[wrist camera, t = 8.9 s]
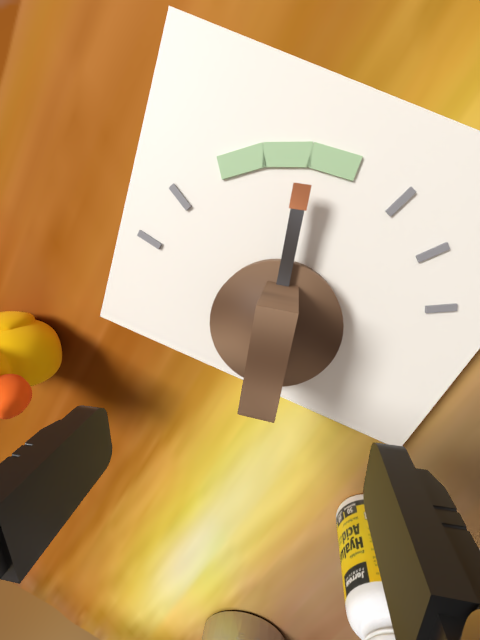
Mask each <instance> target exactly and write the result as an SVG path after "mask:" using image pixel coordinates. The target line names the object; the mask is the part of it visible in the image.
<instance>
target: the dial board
mask: <svg viewBox="0 0 480 640" xmlns="http://www.w3.org/2000/svg"><path fill="white" fill-rule="evenodd" d="M293 182H294V183H301V184H308V185H312V186H311V191H310V196H309V201H308V205H307V210H306V211H304V215H303V220H302V225H301V229H300V234H299V239H298V244H297V249H296V254H295V259H294V261H296V262H299V263H301V264H304V265H306V266H308V267H310V268H311V269H313V270H314V271H316V272H317V273H318V274H320V275H321V276H322V277H323V278H324V279H325V280H326V281H327V283H328V284H329V285H330V287H331V288H332V290H333V292H334V293H335V295H336V297H337V300H338V302H339V305H340V307H341V311H342V315H343V323H344V328H343V337H342V342H341V345H340V347H339V350H338V352H337V354H336V356H335V357H334V359H333V360H332V362H331V363H330V364H329V365H328V366H327V367H326V368H325V369H324V370H323V371H322V372H321V373H319V374H318V375H317V376H315V377H313V378H312V379H310V380H308V381H305V382H303V383H300V384H297V385H292V386H285V387H282V390H281V395H280V397H283V398H285V399H287V400H289V401H292V402H294V403H296V404H298V405H301V406H303V407H305V408H307V409H309V410H312V411H314V412H316V413H318V414H321V415H323V416H325V417H327V418H330V419H332V420H334V421H336V422H339V423H341V424H343V425H345V426H348V427H350V428H352V429H354V430H357V431H359V432H361V433H363V434H366V435H368V436H370V437H372V438H375V439H377V440H379V441H381V442H384V443H386V444H389V445H397V446H403V444H404V443H405V442H406V440H407V439H408V438H409V437H410V435H411V434H412V433H413V432H414V430H415V429H416V428H417V427H418V425H419V424H420V423H421V422H422V420H423V419H424V418H425V417H426V415H427V414H428V413H429V412H430V410H431V409H432V408H433V406H434V405H435V404H436V403H437V401H438V400H439V399H440V398H441V396H442V395H443V394H444V393H445V391H446V390H447V389H448V388H449V386H450V385H451V384H452V383H453V381H454V380H455V379H456V377H457V376H458V375H459V374H460V372H461V371H462V370H463V369H464V367H465V366H466V365H467V364H468V362H469V361H470V360H471V359H472V357H473V356H474V355H475V354H476V352H477V351H478V350H479V349H480V131H479V130H476V129H474V128H471V127H469V126H466V125H464V124H461V123H459V122H457V121H454V120H452V119H449V118H447V117H444V116H442V115H439V114H437V113H434V112H432V111H429V110H427V109H424V108H422V107H419V106H417V105H414V104H412V103H409V102H407V101H404V100H402V99H399V98H397V97H394V96H392V95H389V94H387V93H384V92H382V91H379V90H377V89H375V88H372V87H370V86H367V85H365V84H362V83H360V82H357V81H355V80H352V79H350V78H347V77H345V76H342V75H340V74H337V73H335V72H332V71H330V70H327V69H325V68H322V67H320V66H317V65H315V64H312V63H310V62H307V61H305V60H302V59H300V58H297V57H295V56H293V55H290V54H288V53H285V52H283V51H280V50H278V49H275V48H273V47H270V46H268V45H265V44H263V43H260V42H258V41H255V40H253V39H250V38H248V37H245V36H243V35H240V34H238V33H235V32H233V31H230V30H228V29H225V28H223V27H220V26H218V25H215V24H213V23H211V22H208V21H206V20H203V19H201V18H198V17H196V16H193V15H191V14H188V13H186V12H183V11H181V10H178V9H176V8H173V7H171V6H169V8H168V13H167V17H166V22H165V26H164V31H163V35H162V40H161V44H160V49H159V53H158V58H157V62H156V67H155V71H154V76H153V80H152V85H151V89H150V94H149V98H148V103H147V107H146V112H145V116H144V121H143V125H142V130H141V134H140V139H139V143H138V148H137V152H136V157H135V161H134V166H133V171H132V175H131V180H130V184H129V189H128V193H127V198H126V202H125V207H124V211H123V216H122V220H121V225H120V229H119V234H118V238H117V243H116V247H115V252H114V256H113V261H112V265H111V270H110V274H109V279H108V283H107V288H106V292H105V297H104V301H103V306H102V310H101V315H100V316H101V317H103V318H105V319H107V320H110V321H112V322H114V323H116V324H119V325H121V326H123V327H125V328H128V329H130V330H132V331H134V332H137V333H139V334H141V335H143V336H146V337H148V338H150V339H152V340H155V341H157V342H159V343H161V344H164V345H166V346H168V347H170V348H173V349H175V350H177V351H179V352H182V353H184V354H186V355H188V356H191V357H193V358H195V359H197V360H200V361H202V362H204V363H206V364H208V365H211V366H213V367H215V368H217V369H220V370H222V371H224V372H226V373H229V374H231V375H233V376H235V377H238V378H240V379H242V380H243V379H244V378H243V377H241V376H240V375H238V374H237V373H236V372H234V371H233V370H232V369H231V368H230V367H228V365H227V364H226V363H225V362H224V361H223V360H222V358H221V357H220V355H219V354H218V352H217V350H216V348H215V346H214V343H213V341H212V337H211V332H210V313H211V308H212V305H213V302H214V299H215V297H216V295H217V293H218V292H219V290H220V289H221V287H222V286H223V285H224V284H225V283H226V282H227V280H228V279H229V278H230V277H232V276H233V275H234V274H235V273H236V272H237V271H239V270H240V269H242V268H243V267H245V266H247V265H249V264H252V263H254V262H257V261H261V260H266V259H281V257H282V251H283V246H284V241H285V236H286V230H287V225H288V220H289V214H290V209H291V208H289V204H290V198H291V193H292V188H293Z"/></svg>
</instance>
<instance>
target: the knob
mask: <svg viewBox="0 0 480 640" xmlns="http://www.w3.org/2000/svg"><path fill="white" fill-rule="evenodd" d="M311 186H312V185H308V184H301V183H294V182H293V188H292V193H291V198H290V204H289V208H291V209H290V214H289V220H288V225H287V230H286V236H285V241H284V246H283V251H282V257H281V259H266V260H261V261H257V262H254V263H252V264H249V265H247V266H245V267H243V268H242V269H240V270H239V271H237V272H236V273H235V274H234V275H233V276H232V277H230V278H229V279H228V280H227V282H226V283H225V284H224V285H223V286H222V287H221V289H220V290H219V292H218V293H217V295H216V297H215V299H214V302H213V305H212V308H211V313H210V332H211V337H212V341H213V343H214V346H215V348H216V350H217V352H218V354H219V355H220V357H221V358H222V360H223V361H224V362H225V363H226V364H227V365H228V367H230V368H231V369H232V370H233V371H234V372H236V373H237V374H238V375H240V376H241V377H243V378H244V379H243V385H242V391H241V397H240V403H239V408H238V414H239V415H243V416H247V417H251V418H256V419H260V420H264V421H268V422H273V423H274V421H275V417H276V413H277V408H278V404H279V399H280V395H281V390H282V387H285V386H292V385H297V384H300V383H303V382H305V381H308V380H310V379H312V378H313V377H315V376H317V375H318V374H319V373H321V372H322V371H323V370H324V369H325V368H326V367H327V366H328V365H329V364H330V363H331V362H332V360H333V359H334V357H335V356H336V354H337V352H338V350H339V347H340V345H341V342H342V337H343V328H344V323H343V315H342V311H341V307H340V305H339V302H338V300H337V297H336V295H335V293H334V292H333V290H332V288H331V287H330V285H329V284H328V283H327V281H326V280H325V279H324V278H323V277H322V276H321V275H320V274H318V273H317V272H316V271H314V270H313V269H311V268H310V267H308V266H306V265H304V264H301V263H299V262H296V261H294V259H295V254H296V249H297V244H298V239H299V234H300V229H301V225H302V220H303V215H304V211H306V210H307V205H308V201H309V196H310V191H311Z"/></svg>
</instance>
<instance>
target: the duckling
mask: <svg viewBox="0 0 480 640" xmlns="http://www.w3.org/2000/svg"><path fill="white" fill-rule="evenodd" d="M61 362H62V348H61V344H60V341H59V338H58V335H57V333H56V332H55V331H54V329H53V328H52V327H50V326H49V325H48V324H46V323H44V322H41V321H38V320H35V317H34V316H33V315H32V314H30V313H27V312H18V311H6V312H0V419H10V418H12V417H15V416H17V415H19V414H20V413H22V412H23V410H24V409H25V408H26V407H27V406H28V404H29V403H30V401H31V398H32V390H31V386H34V385H37V384H39V383H42V382H44V381H46V380H47V379H49V378H50V377H52V376H53V375H54V374H55V373H56V372H57V370H58V369H59V367H60V365H61Z"/></svg>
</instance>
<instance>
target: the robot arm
mask: <svg viewBox="0 0 480 640" xmlns="http://www.w3.org/2000/svg"><path fill="white" fill-rule="evenodd" d="M111 455H112V443H111V436H110V429H109V422H108V416H107V412H106V410H105V409H104V408H98V407H90V406H78V407H76V408H75V409H73V410H72V411H71V412H70V413H69V414H68V415H66V416H65V417H64V418H63V419H62V420H58V421H56V422H55V423H53V424H51V425H49V426H47V427H45V428H43V429H41V430H40V431H39V432H37V433H36V434H35V435H34V436H33V437H31V438H30V439H29V440H28V441H27V442H25V445H24V446H23V445H22V446H21V447H20V448H18V449H17V450H16V451H15V452H14V453H12V456H11V457H8V458H6V459H5V460H4V461H3V462H2V463H0V579H2V580H6V581H11V582H15V583H19V584H20V583H21V581H22V580H23V579H24V577H25V576H26V575H27V573H28V572H29V571H30V569H31V568H32V567H33V565H34V564H35V563H36V561H37V560H38V559H39V557H40V556H41V555H42V553H43V552H44V551H45V549H46V548H47V547H48V545H49V544H50V543H51V541H52V540H53V539H54V537H55V536H56V535H57V533H58V532H59V531H60V529H61V528H62V527H63V525H64V524H65V523H66V521H67V520H68V519H69V517H70V516H71V515H72V513H73V512H74V511H75V509H76V508H77V507H78V505H79V504H80V503H81V501H82V500H83V499H84V497H85V496H86V495H87V493H88V492H89V491H90V489H91V488H92V487H93V485H94V484H95V483H96V482H97V480H98V479H99V478H100V476H101V475H102V474H103V472H104V471H105V469H106V468H107V466H108V464H109V462H110V459H111ZM363 498H364V508H365V513H366V517H367V521H368V526H369V530H370V534H371V538H372V543H373V547H374V551H375V555H376V559H377V564H378V568H379V572H380V576H381V580H382V585H383V589H384V593H385V597H386V601H387V606H388V610H389V614H390V618H391V623H392V627H393V631H394V635H395V639H396V640H480V550H479V548H478V547H477V545H476V543H475V541H474V539H473V538H472V536H471V534H470V532H469V531H467V529H466V525H465V523H464V521H463V519H462V518H461V516H460V514H459V513H457V511H456V507H455V505H454V503H453V501H452V500H451V498H450V496H449V494H448V492H447V491H446V489H445V487H444V486H443V485H442V484H441V483H440V482H439V481H438V480H437V479H436V478H435V477H434V476H433V475H432V474H431V473H430V472H429V471H427V470H423V469H416V468H415V467H414V465H413V463H412V461H411V458H410V456H409V454H408V452H407V450H406V449H405V447H403V446H397V445H389V444H381V443H373V444H372V446H371V450H370V455H369V461H368V466H367V471H366V477H365V482H364V490H363ZM202 640H285V639H284V637H283V636H282V634H281V633H280V632H279V631H278V630H277V629H276V628H275V627H274V626H273V625H271V624H270V623H269V622H267V621H265V620H263V619H261V618H259V617H257V616H254V615H252V614H248V613H244V612H237V611H224V612H219V613H216V614H214V615H212V616H211V617H210V618H208V620H207V621H206V623H205V627H204V632H203V636H202Z"/></svg>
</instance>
